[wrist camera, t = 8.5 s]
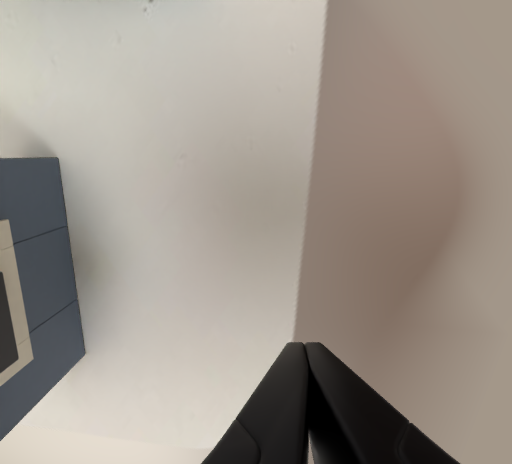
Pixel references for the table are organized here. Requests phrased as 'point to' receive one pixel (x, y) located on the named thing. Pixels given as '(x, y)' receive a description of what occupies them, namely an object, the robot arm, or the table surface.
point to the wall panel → (36, 284)
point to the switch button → (6, 331)
